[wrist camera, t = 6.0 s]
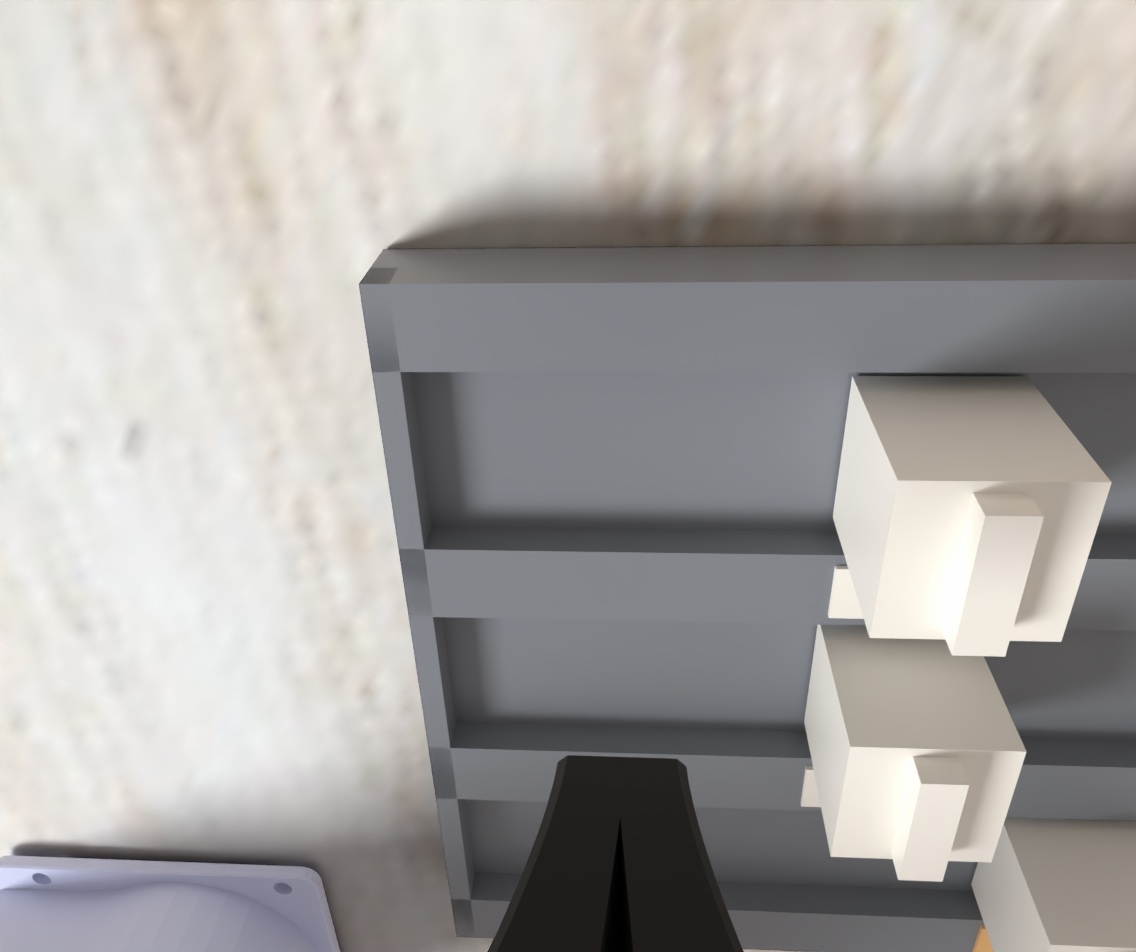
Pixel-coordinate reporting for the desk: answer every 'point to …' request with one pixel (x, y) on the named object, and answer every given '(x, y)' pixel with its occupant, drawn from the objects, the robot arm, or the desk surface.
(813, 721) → the tab
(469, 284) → the switch bank
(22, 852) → the desk surface
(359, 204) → the desk surface
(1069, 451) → the tab
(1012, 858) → the tab
